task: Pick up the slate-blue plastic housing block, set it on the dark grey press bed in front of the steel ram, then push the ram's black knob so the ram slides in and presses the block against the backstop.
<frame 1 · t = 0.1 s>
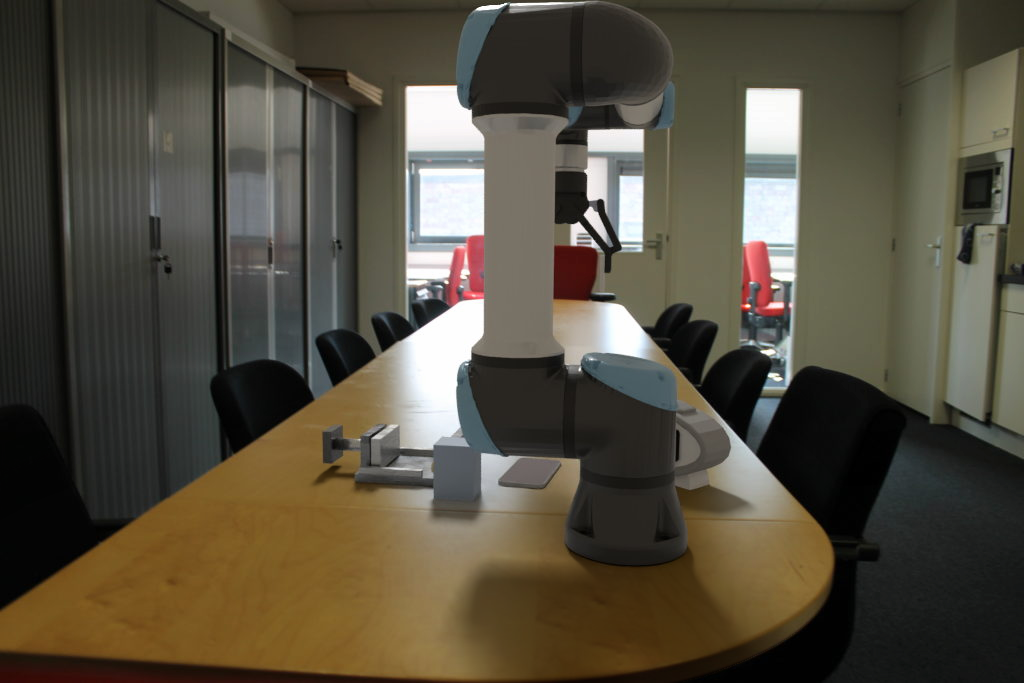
hand: (564, 291, 150), 28 cm above the table, fingers open, 13 cm apart
ram: (359, 445, 135), point 4 cm above the table, slide at 0.0 cm
press bed: (414, 471, 134), on the table
housing: (457, 494, 123), on the table
smartphone: (530, 476, 134), on the table
alarm clock: (657, 476, 134), on the table
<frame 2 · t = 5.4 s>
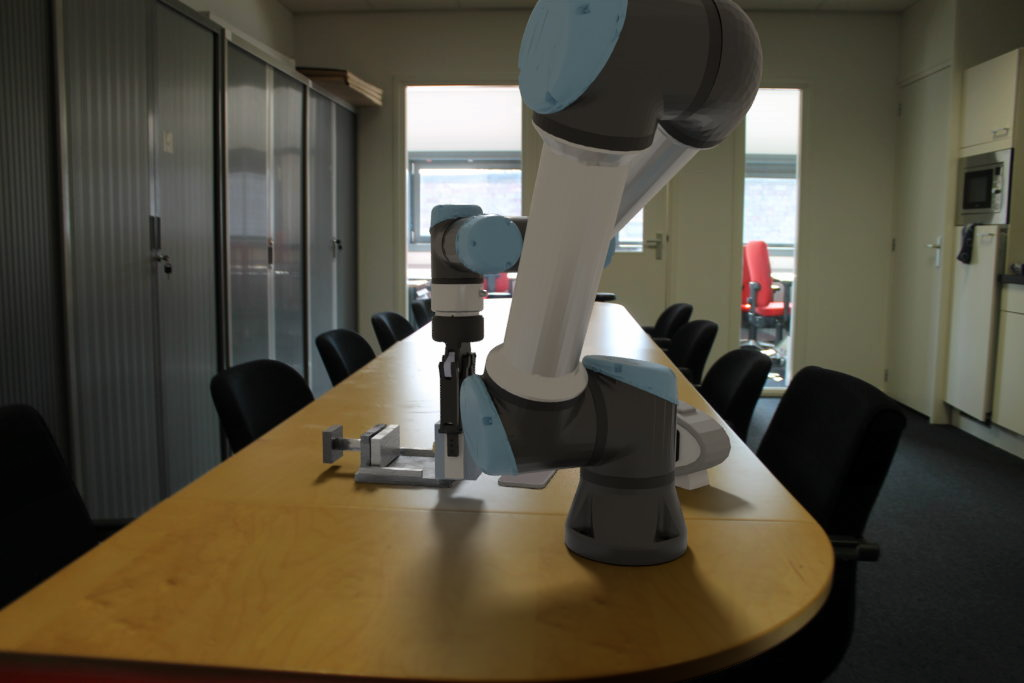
hand: (459, 472, 121), 4 cm above the table, fingers closed on housing, 5 cm apart
housing: (459, 475, 122), point 3 cm above the table, touching gripper
everything else where it was.
when the fingers open (2 cm above the table, at t = 10.3 s): housing stays where it is, resting on press bed.
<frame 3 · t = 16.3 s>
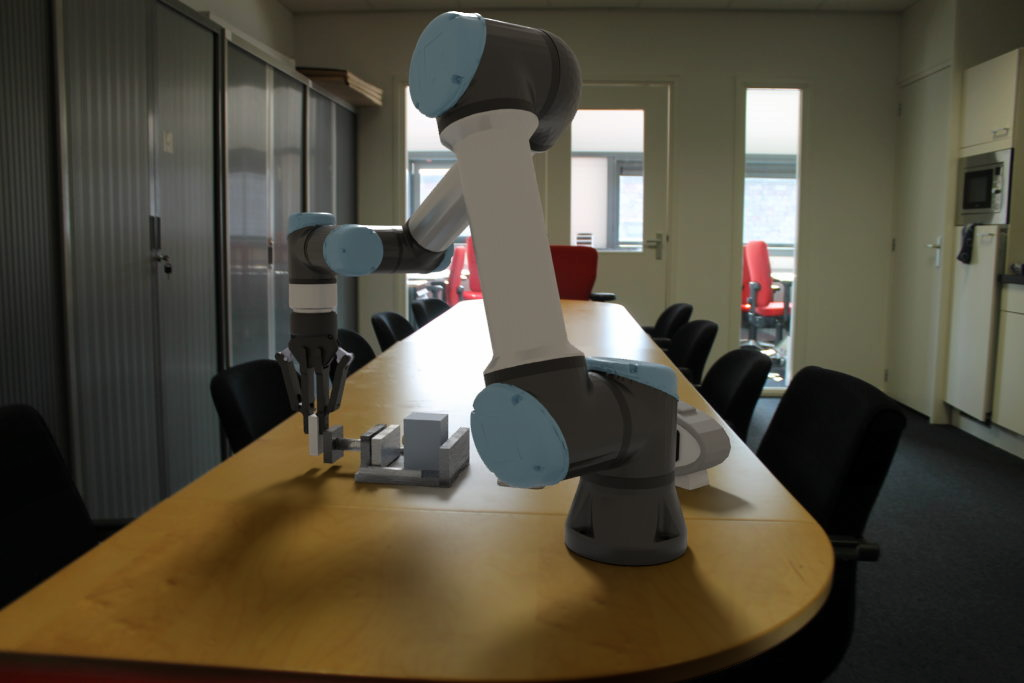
hand: (316, 453, 136), 2 cm above the table, fingers closed
ram: (359, 445, 135), point 4 cm above the table, slide at 0.1 cm, touching gripper
housing: (426, 465, 133), point 1 cm above the table, touching press bed
everything else where it was.
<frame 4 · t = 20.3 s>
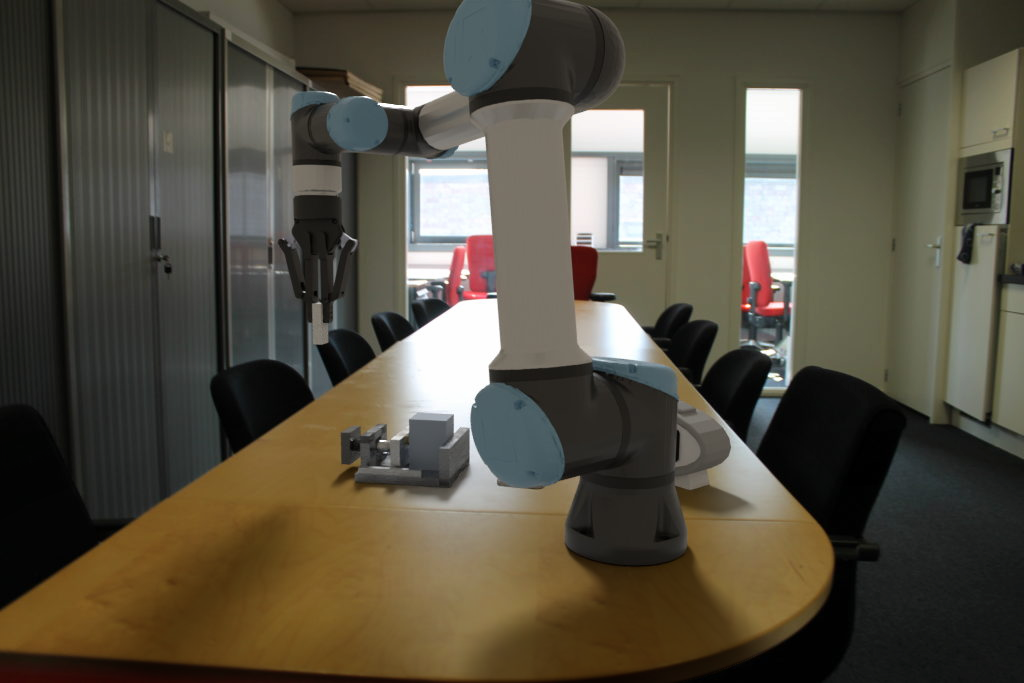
hand: (320, 343, 134), 20 cm above the table, fingers closed
ram: (377, 446, 134), point 4 cm above the table, slide at 3.1 cm, touching housing
housing: (431, 465, 133), point 1 cm above the table, touching press bed, ram
everything else where it was.
at the end: ram slide at 3.1 cm; housing inside the target area on the press bed (0.4 cm from its centre), point 1.2 cm above the press bed's base; housing tilted 0° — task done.
